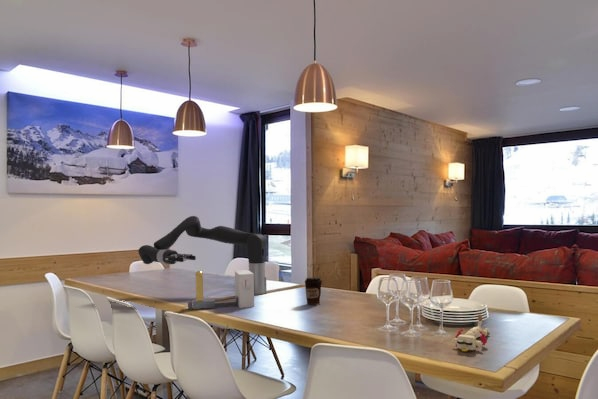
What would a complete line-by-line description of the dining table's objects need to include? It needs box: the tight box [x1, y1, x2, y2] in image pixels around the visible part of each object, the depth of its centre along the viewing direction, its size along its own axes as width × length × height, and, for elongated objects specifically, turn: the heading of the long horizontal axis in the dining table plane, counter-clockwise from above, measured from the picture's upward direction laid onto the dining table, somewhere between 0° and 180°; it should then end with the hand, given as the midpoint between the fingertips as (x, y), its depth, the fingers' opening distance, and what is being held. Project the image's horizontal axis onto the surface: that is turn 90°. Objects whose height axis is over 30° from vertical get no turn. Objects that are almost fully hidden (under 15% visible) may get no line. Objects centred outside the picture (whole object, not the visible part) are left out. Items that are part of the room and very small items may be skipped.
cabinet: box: [234, 269, 255, 309], centre depth 231 cm, size 8×15×16 cm, turn 17°
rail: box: [187, 300, 239, 311], centre depth 228 cm, size 26×4×4 cm, turn 107°
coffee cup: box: [304, 276, 323, 306], centre depth 229 cm, size 9×8×13 cm
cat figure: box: [452, 314, 490, 352], centre depth 159 cm, size 10×9×25 cm
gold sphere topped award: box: [192, 270, 216, 310], centre depth 226 cm, size 10×7×18 cm
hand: (189, 258), depth 240 cm, fingers open, 8 cm apart
